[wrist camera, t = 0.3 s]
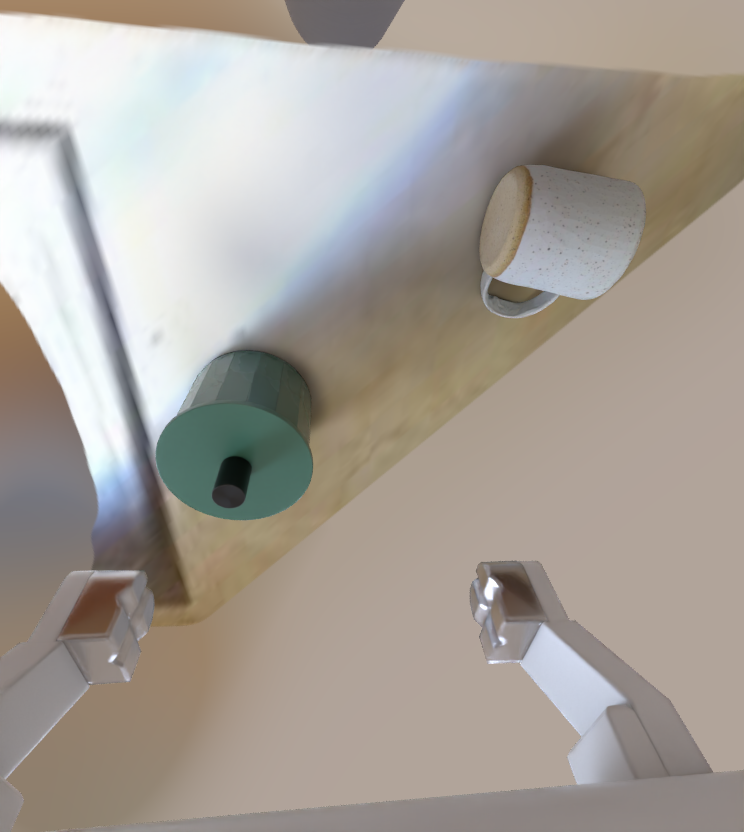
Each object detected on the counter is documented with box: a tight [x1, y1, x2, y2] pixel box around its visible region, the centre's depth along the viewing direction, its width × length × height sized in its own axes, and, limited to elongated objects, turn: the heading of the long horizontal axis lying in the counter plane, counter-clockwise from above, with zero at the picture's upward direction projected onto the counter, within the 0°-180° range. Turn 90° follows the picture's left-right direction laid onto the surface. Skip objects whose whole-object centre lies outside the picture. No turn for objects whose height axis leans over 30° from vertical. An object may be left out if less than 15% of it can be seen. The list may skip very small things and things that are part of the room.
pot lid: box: [156, 400, 313, 520], centre depth 30 cm, size 11×11×4 cm
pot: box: [177, 351, 311, 444], centre depth 35 cm, size 10×10×8 cm
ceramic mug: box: [479, 165, 646, 318], centre depth 30 cm, size 11×8×8 cm
